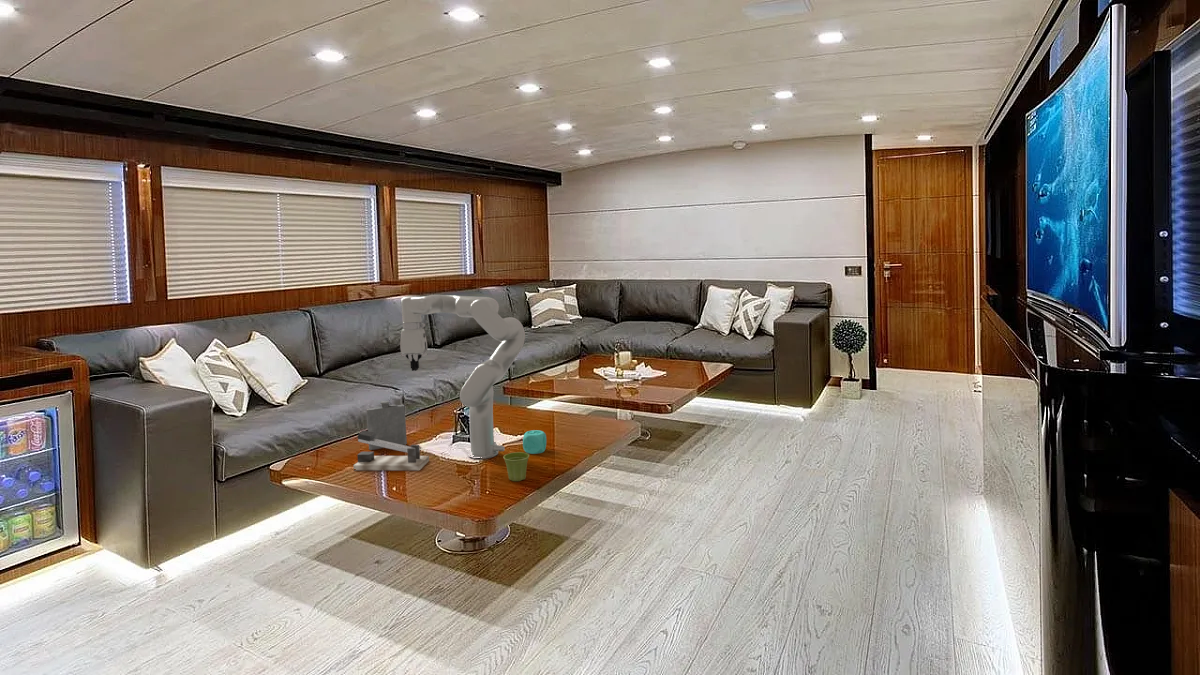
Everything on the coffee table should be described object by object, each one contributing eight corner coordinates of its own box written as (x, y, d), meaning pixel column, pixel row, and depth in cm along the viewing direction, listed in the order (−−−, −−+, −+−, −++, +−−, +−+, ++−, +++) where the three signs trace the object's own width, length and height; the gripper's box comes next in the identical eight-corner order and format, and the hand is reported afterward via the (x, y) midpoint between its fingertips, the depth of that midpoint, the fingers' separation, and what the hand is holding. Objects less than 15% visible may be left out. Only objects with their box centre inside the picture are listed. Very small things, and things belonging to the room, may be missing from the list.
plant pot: (529, 482, 240) (528, 459, 239) (503, 483, 239) (502, 460, 238) (530, 474, 249) (529, 451, 248) (505, 475, 249) (504, 452, 247)
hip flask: (369, 450, 284) (366, 404, 282) (368, 447, 288) (365, 402, 285) (407, 444, 291) (404, 400, 289) (405, 442, 295) (403, 398, 292)
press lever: (415, 450, 264) (416, 442, 264) (411, 454, 259) (412, 445, 259) (362, 438, 265) (363, 430, 264) (356, 442, 260) (358, 433, 260)
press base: (429, 460, 268) (428, 442, 267) (419, 470, 256) (418, 451, 255) (366, 460, 270) (365, 442, 269) (353, 470, 258) (352, 451, 257)
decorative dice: (541, 454, 273) (540, 435, 272) (523, 453, 275) (522, 434, 274) (546, 448, 281) (546, 430, 280) (528, 448, 283) (528, 429, 282)
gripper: (433, 325, 277) (435, 368, 279) (398, 325, 278) (400, 368, 280) (427, 327, 269) (429, 371, 272) (391, 327, 270) (394, 372, 273)
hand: (415, 370), depth 276 cm, fingers closed
